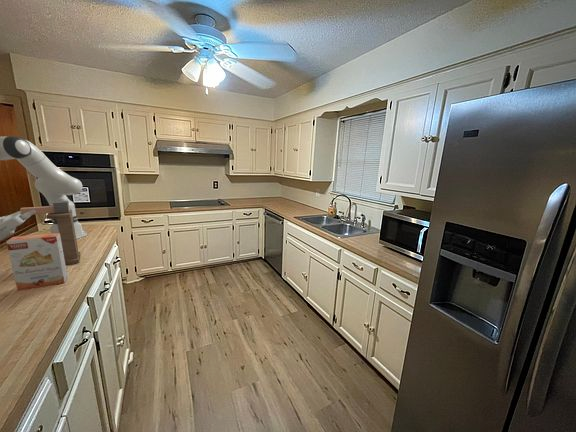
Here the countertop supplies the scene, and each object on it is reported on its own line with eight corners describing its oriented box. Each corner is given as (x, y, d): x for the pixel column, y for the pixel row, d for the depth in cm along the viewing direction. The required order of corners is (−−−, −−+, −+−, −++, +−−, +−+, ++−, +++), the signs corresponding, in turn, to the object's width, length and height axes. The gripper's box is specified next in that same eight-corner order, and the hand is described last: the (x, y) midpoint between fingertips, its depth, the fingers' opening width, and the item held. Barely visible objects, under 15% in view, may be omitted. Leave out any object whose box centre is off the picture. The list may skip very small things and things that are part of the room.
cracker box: (16, 292, 94) (4, 240, 89) (23, 285, 99) (11, 236, 94) (64, 284, 101) (56, 236, 96) (68, 277, 106) (60, 232, 101)
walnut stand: (59, 258, 125) (50, 211, 119) (80, 255, 130) (73, 209, 124) (55, 267, 115) (46, 215, 110) (79, 263, 120) (70, 214, 115)
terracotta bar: (23, 213, 111) (21, 203, 110) (69, 210, 121) (68, 200, 120) (20, 215, 107) (18, 204, 106) (68, 212, 117) (67, 202, 116)
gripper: (-16, 227, 97) (24, 208, 102) (1, 217, 112) (34, 200, 118) (0, 239, 100) (37, 219, 105) (13, 227, 115) (45, 211, 121)
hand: (36, 209), depth 112 cm, fingers closed on terracotta bar, 3 cm apart
